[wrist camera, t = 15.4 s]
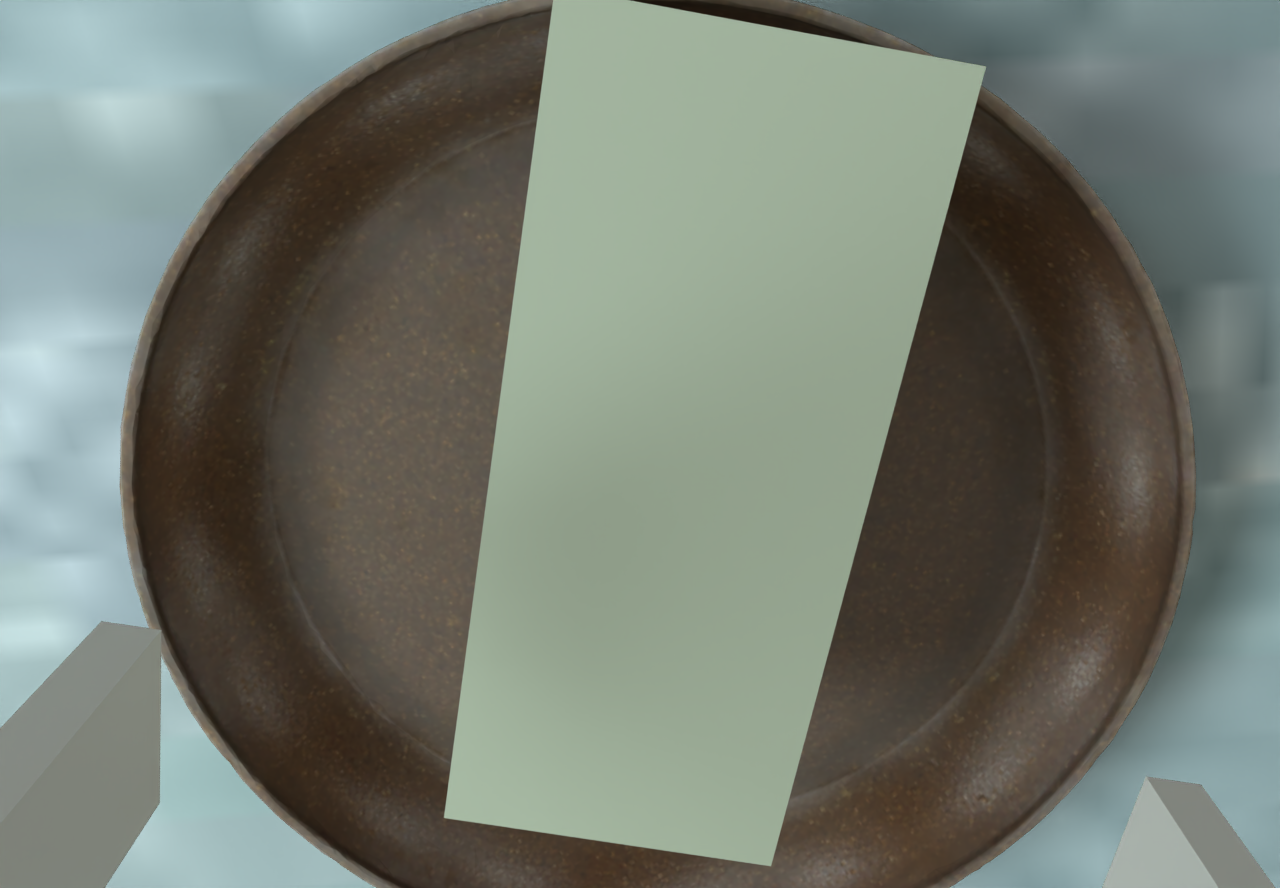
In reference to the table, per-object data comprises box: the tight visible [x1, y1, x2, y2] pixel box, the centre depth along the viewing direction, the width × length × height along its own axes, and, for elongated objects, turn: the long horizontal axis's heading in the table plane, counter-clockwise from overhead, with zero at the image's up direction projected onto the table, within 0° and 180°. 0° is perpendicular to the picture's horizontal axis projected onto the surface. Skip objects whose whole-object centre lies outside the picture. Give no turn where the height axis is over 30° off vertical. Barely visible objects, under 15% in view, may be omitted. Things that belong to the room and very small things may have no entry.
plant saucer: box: [120, 0, 1196, 888], centre depth 23 cm, size 21×21×3 cm
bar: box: [444, 0, 986, 866], centre depth 19 cm, size 6×14×3 cm, turn 170°
